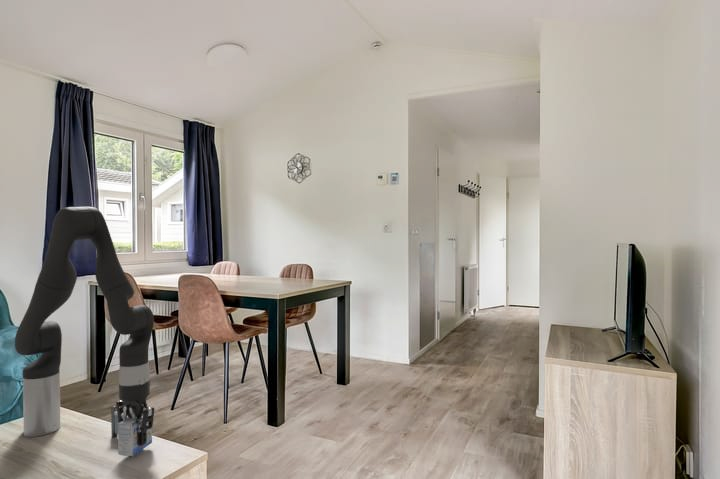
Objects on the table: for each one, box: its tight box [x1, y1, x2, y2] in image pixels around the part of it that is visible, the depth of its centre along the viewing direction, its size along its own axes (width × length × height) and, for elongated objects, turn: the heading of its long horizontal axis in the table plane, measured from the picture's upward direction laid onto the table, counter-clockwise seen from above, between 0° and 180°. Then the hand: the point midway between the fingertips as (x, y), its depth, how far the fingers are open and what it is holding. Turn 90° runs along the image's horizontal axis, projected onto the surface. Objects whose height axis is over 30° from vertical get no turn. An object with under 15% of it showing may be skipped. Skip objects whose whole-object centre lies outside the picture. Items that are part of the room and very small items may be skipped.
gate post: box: [110, 405, 118, 439], centre depth 131 cm, size 2×2×9 cm
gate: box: [114, 411, 123, 434], centre depth 128 cm, size 10×1×7 cm, turn 59°
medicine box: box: [117, 416, 153, 457], centre depth 120 cm, size 8×4×9 cm, turn 168°
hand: (135, 441), depth 120 cm, fingers closed on medicine box, 5 cm apart
